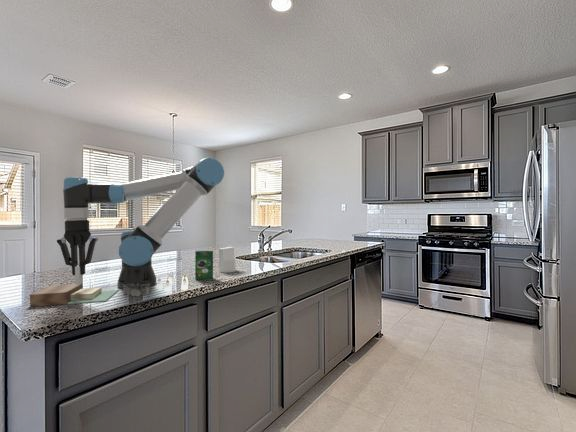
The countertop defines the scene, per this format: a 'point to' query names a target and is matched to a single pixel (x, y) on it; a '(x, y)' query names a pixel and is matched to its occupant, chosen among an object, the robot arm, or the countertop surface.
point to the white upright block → (226, 260)
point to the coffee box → (203, 265)
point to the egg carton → (136, 289)
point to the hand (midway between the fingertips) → (79, 283)
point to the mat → (97, 297)
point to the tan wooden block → (54, 294)
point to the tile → (86, 293)
